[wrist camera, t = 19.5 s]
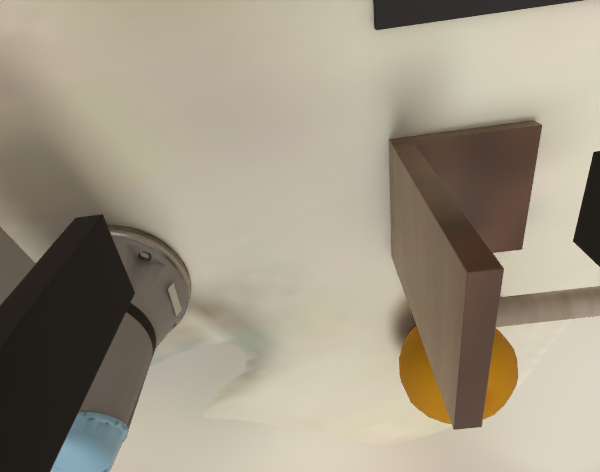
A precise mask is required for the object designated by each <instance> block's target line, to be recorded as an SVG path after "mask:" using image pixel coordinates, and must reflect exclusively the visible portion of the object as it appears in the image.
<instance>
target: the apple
mask: <svg viewBox="0 0 600 472" xmlns="http://www.w3.org/2000/svg"><path fill="white" fill-rule="evenodd" d="M399 367H400V378H401V382H402V384H403V386H404V388H405V390H406V393H407V395H408V397H409V399H410V401H411V403H412V404H413V405H414V406H415V407H416V408H418V409H419V410H420V411H422V412H423V413H424V414H426V415H427V416H428V417H430V418H433V419H436V420H438V421H441V422H444V423H449V424H452V423H451V420H450V418H449V415H448V412H447V409H446V407H445V404H444V401H443V398H442V395H441V393H440V390H439V387H438V384H437V381H436V379H435V376H434V373H433V370H432V368H431V365H430V362H429V359H428V356H427V354H426V351H425V348H424V345H423V342H422V340H421V337H420V334H419V331H418V329H417V326H415V327H414V328H413V329H412V330H411V331H410V332H409V334H408V336H407V337H406V339H405V341H404V343H403V346H402V350H401V353H400V357H399ZM517 380H518V368H517V358H516V355H515V352H514V349H513V348H512V346H511V345H510V343H509V342H508V341H507V340H506V338H505V337H504V336H503V335H502V334H501V332H500V331H499V330H497V329H496V328H495V335H494V342H493V349H492V356H491V363H490V370H489V378H488V385H487V392H486V399H485V406H484V413H483V419H486V418H488V417H490V416H492V415H494V414H495V413H496V412H497V411H499V410H500V409H501V408H502V407H503V406H504V405H505V403H506V402H507V400H508V399H509V398H510V396H511V394H512V393H513V391H514V389H515V387H516V384H517Z"/></svg>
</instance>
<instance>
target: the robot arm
mask: <svg viewBox="0 0 600 472" xmlns="http://www.w3.org/2000/svg"><path fill="white" fill-rule="evenodd" d="M573 242H574V243H575V244H576V245H577V246H579V247H580V248H581V249H582V250H583V251H584V252H585V253H586V254H587V255H588V256H589V257H590V258H591V259H592V260H593V261H594V262H595V263H596V264H597V265H598V266H599V267H600V151H597V152H594V153H593V157H592V162H591V166H590V170H589V175H588V179H587V183H586V188H585V192H584V196H583V200H582V205H581V209H580V213H579V218H578V222H577V226H576V231H575V235H574V239H573ZM190 292H191V285H190V279H189V275H188V272H187V270H186V268H185V266H184V264H183V263H182V261H181V260H180V258H179V257H178V256H177V255H176V254H175V253H174V252H173V251H172V250H171V249H170V248H169V247H168V246H167V245H165V244H164V243H163V242H161V241H160V240H158V239H156V238H154V237H153V236H151V235H149V234H146V233H144V232H141V231H138V230H135V229H131V228H126V227H119V226H107V224H106V221H105V219H104V217H103V214H102V215H94V216H86V217H78V218H75V219H74V220H73V221H72V223H71V224H70V225H69V226H68V227H67V228H66V230H65V231H64V232H63V233H62V234H61V235H60V237H59V238H58V239H57V240H56V241H55V242H54V243H53V245H52V246H51V247H50V248H49V249H48V250H47V252H46V253H45V254H44V255H43V256H42V257H41V259H40V260H39V261H38V262H37V263H36V264H35V263H34V262H33V261H32V260H31V259H30V258H29V257H28V255H27V254H26V253H25V252H24V251H23V250H22V249H21V248H20V247H19V246H18V245H17V244H16V243H15V242H14V241H13V240H12V239H11V238H10V237H9V236H8V234H7V233H6V232H5V231H4V230H3V229H2V228H1V227H0V472H109V471H110V469H111V468H112V466H113V464H114V461H115V459H116V456H117V454H118V452H119V449H120V447H121V445H122V442H123V441H124V440H125V439H126V438H127V434H128V429H129V426H130V423H131V420H132V417H133V414H134V411H135V408H136V405H137V402H138V399H139V396H140V393H141V390H142V387H143V384H144V381H145V378H146V375H147V372H148V369H149V366H150V363H151V360H152V357H153V354H154V351H155V348H156V347H157V346H158V345H159V343H160V342H161V341H162V340H163V339H164V337H165V336H166V335H167V334H168V333H169V332H170V331H171V330H172V329H173V328H174V327H175V326H176V325H177V324H178V323H179V322H180V321H181V319H182V318H183V316H184V314H185V311H186V308H187V305H188V302H189V298H190Z"/></svg>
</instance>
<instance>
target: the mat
mask: <svg viewBox="0 0 600 472" xmlns="http://www.w3.org/2000/svg"><path fill="white" fill-rule="evenodd" d="M575 1H582V0H374V26H375V29H376V30H380V29H387V28H394V27H401V26H408V25H415V24H422V23H429V22H436V21H443V20H450V19H457V18H464V17H471V16H478V15H485V14H492V13H499V12H506V11H513V10H520V9H527V8H534V7H540V6H547V5H554V4H561V3H568V2H575Z"/></svg>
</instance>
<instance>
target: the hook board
mask: <svg viewBox="0 0 600 472" xmlns="http://www.w3.org/2000/svg"><path fill="white" fill-rule="evenodd" d="M541 128H542V125H541V124H539V123H538V122H536V121H527V122H519V123H511V124H504V125H496V126H489V127H481V128H473V129H466V130H458V131H450V132H443V133H435V134H428V135H420V136H412V137H405V138H397V139H390V140H389V165H390V206H391V248H392V259H393V262H394V265H395V267H396V270H397V273H398V276H399V278H400V281H401V284H402V287H403V290H404V292H405V295H406V298H407V301H408V304H409V306H410V309H411V312H412V315H413V317H414V320H415V323H416V326H417V329H418V331H419V334H420V337H421V340H422V342H423V345H424V348H425V351H426V354H427V356H428V359H429V362H430V365H431V368H432V370H433V373H434V376H435V379H436V381H437V384H438V387H439V390H440V393H441V395H442V398H443V401H444V404H445V407H446V409H447V412H448V415H449V418H450V420H451V423H452V426H453V429H464V428H475V427H481V426H482V420H483V413H484V406H485V399H486V392H487V385H488V378H489V370H490V363H491V356H492V349H493V342H494V335H495V328H496V327H502V326H511V325H520V324H529V323H538V322H547V321H556V320H566V319H575V318H584V317H593V316H600V286H596V287H588V288H579V289H570V290H561V291H552V292H543V293H534V294H526V295H517V296H508V297H500V292H501V285H502V278H503V271H504V268H503V267H502V265H501V264H500V262H499V261H498V260H497V258H496V257H495V256H494V254H493V253H495V252H504V251H512V250H521V249H522V245H523V239H524V233H525V227H526V221H527V215H528V208H529V202H530V196H531V190H532V184H533V178H534V171H535V165H536V159H537V153H538V147H539V141H540V134H541Z"/></svg>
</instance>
